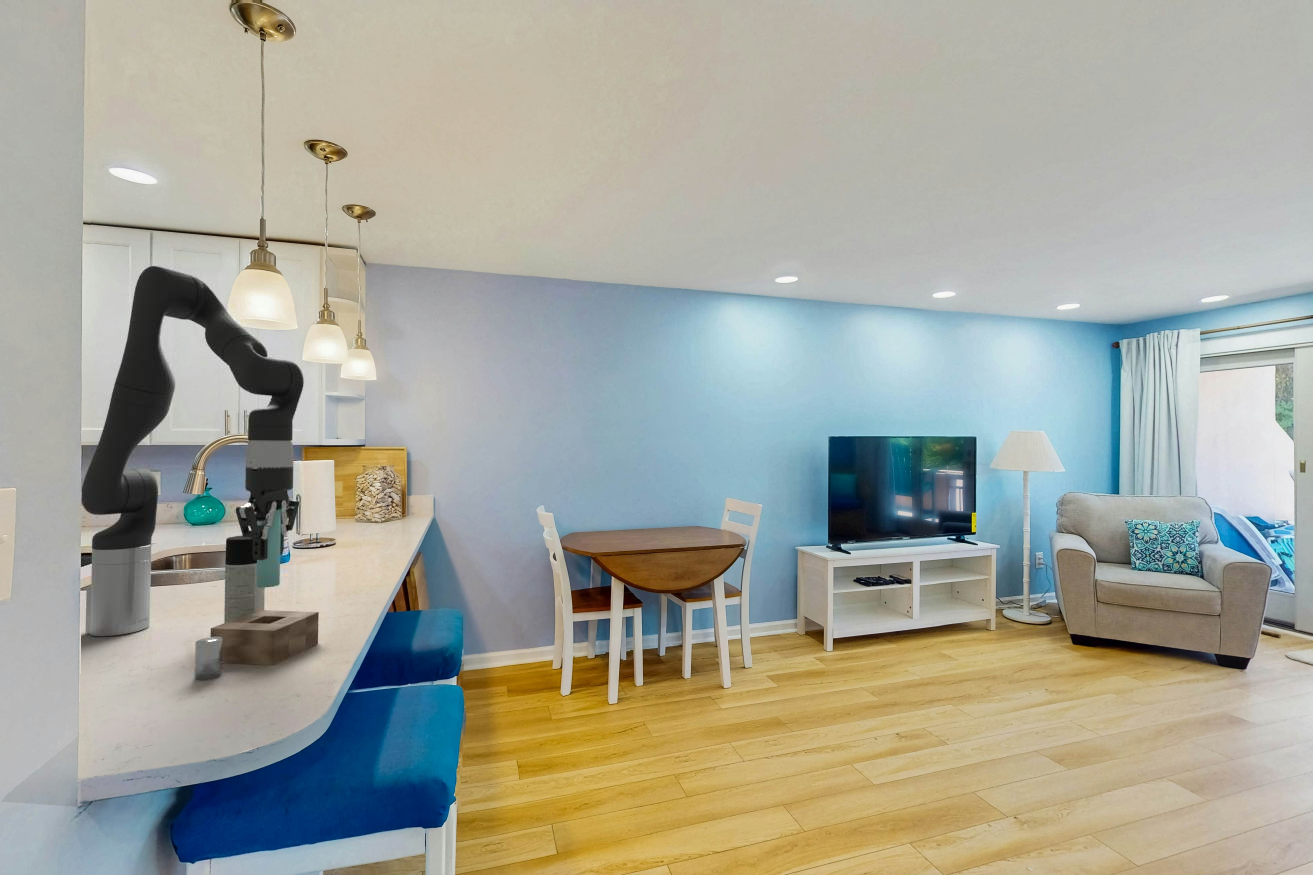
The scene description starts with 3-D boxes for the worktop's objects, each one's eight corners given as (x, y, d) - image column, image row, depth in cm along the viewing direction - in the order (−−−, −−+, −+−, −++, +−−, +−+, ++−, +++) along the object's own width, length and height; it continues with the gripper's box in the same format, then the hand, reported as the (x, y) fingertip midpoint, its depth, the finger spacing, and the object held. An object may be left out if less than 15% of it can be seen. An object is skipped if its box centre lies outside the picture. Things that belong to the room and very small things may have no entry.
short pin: (189, 680, 99) (189, 643, 99) (207, 671, 103) (207, 636, 103) (209, 681, 99) (210, 644, 99) (227, 672, 102) (227, 637, 102)
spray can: (272, 633, 124) (273, 535, 124) (239, 643, 117) (241, 539, 117) (248, 630, 126) (250, 533, 126) (215, 639, 119) (217, 538, 120)
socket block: (209, 662, 107) (210, 628, 107) (260, 640, 119) (260, 609, 119) (273, 665, 106) (274, 630, 106) (318, 642, 118) (318, 611, 118)
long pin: (251, 587, 111) (253, 510, 111) (266, 582, 115) (267, 508, 115) (270, 587, 111) (271, 511, 111) (284, 583, 114) (285, 509, 115)
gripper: (277, 463, 120) (276, 550, 120) (220, 466, 106) (218, 564, 106) (313, 464, 120) (312, 551, 120) (260, 466, 106) (259, 565, 105)
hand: (268, 557), depth 113 cm, fingers closed on long pin, 3 cm apart
